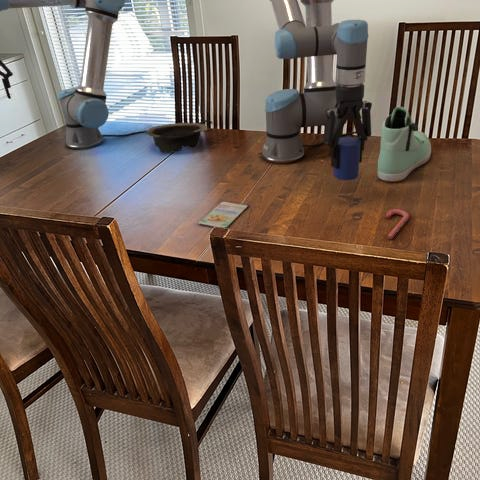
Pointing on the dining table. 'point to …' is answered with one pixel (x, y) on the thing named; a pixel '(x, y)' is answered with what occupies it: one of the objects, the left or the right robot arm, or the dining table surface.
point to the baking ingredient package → (223, 214)
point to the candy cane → (399, 221)
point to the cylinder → (348, 158)
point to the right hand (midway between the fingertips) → (346, 163)
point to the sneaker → (401, 146)
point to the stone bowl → (176, 136)
